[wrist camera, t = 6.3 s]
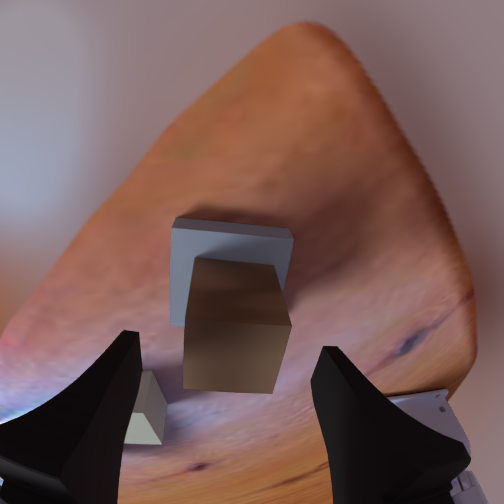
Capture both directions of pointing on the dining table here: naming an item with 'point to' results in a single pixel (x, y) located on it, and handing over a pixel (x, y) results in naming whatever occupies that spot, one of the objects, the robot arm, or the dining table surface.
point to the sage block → (147, 413)
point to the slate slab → (222, 253)
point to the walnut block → (234, 327)
